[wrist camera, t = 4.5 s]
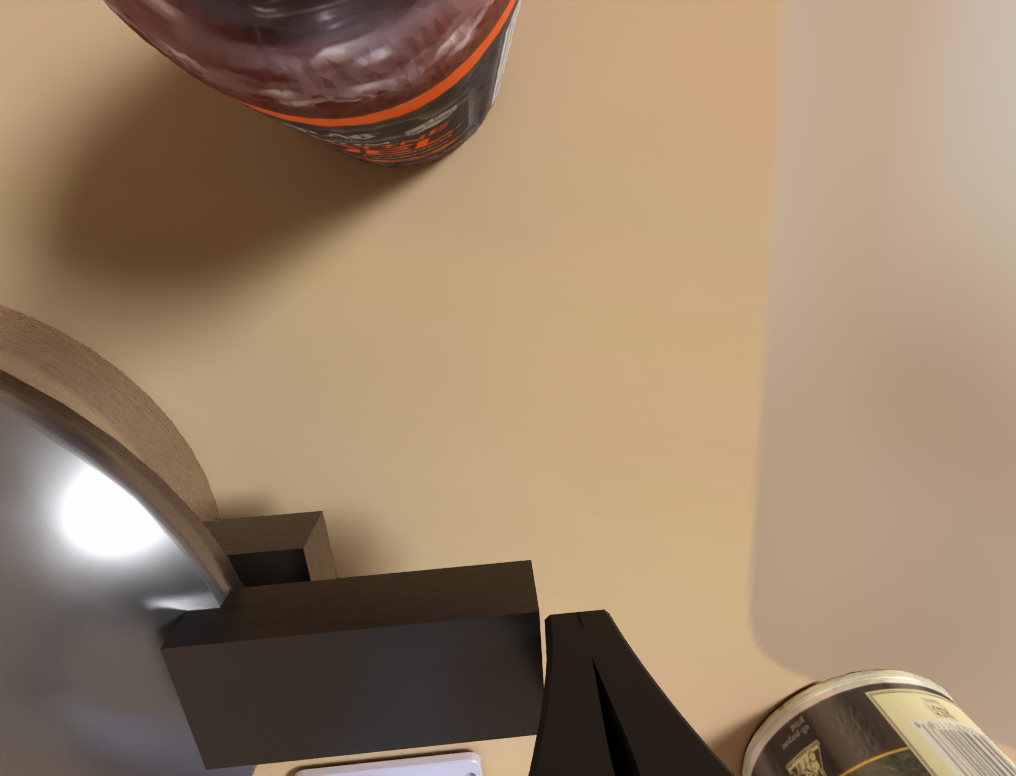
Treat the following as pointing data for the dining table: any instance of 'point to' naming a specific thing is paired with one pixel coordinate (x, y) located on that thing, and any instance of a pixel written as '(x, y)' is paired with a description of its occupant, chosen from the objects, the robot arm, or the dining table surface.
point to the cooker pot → (161, 451)
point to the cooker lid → (221, 630)
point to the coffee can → (873, 732)
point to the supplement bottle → (344, 65)
